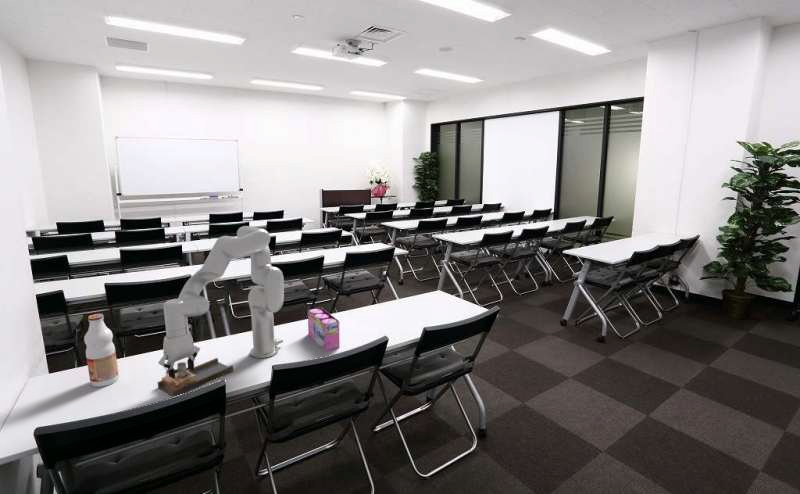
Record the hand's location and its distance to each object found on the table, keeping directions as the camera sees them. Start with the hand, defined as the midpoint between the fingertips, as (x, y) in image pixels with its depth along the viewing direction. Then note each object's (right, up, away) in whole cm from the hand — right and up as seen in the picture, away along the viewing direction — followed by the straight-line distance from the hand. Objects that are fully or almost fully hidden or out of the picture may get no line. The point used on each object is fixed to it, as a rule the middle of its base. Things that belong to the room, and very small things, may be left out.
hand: (181, 373), depth 164 cm
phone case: (-10, -2, +18) cm, 21 cm away
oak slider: (0, -4, +1) cm, 4 cm away
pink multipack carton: (+48, +3, +44) cm, 65 cm away
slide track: (+3, -4, +6) cm, 8 cm away
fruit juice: (-33, -5, +3) cm, 33 cm away
